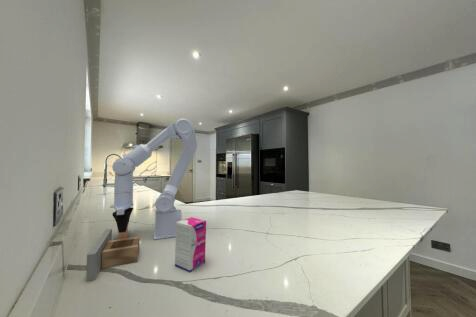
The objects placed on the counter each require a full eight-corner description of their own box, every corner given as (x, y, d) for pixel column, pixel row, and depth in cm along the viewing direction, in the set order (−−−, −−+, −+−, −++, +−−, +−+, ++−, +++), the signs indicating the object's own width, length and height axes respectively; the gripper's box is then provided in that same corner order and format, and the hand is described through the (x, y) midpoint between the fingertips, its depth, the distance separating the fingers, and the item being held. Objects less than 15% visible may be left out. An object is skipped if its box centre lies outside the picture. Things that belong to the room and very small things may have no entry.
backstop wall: (111, 247, 59) (111, 228, 60) (95, 280, 43) (95, 253, 43) (105, 248, 59) (105, 229, 59) (86, 281, 42) (87, 254, 43)
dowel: (128, 236, 69) (128, 214, 69) (127, 239, 66) (127, 216, 66) (119, 237, 67) (119, 215, 68) (117, 240, 65) (118, 217, 65)
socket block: (139, 249, 58) (139, 236, 58) (137, 261, 51) (137, 246, 51) (108, 254, 55) (108, 240, 55) (101, 268, 48) (101, 252, 48)
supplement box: (190, 273, 46) (190, 225, 46) (174, 266, 49) (174, 221, 49) (206, 262, 51) (206, 219, 51) (190, 256, 54) (191, 216, 54)
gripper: (114, 190, 72) (113, 225, 72) (105, 196, 59) (104, 239, 59) (135, 189, 75) (134, 223, 75) (131, 194, 62) (130, 236, 61)
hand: (123, 230), depth 67 cm, fingers closed on dowel, 3 cm apart
